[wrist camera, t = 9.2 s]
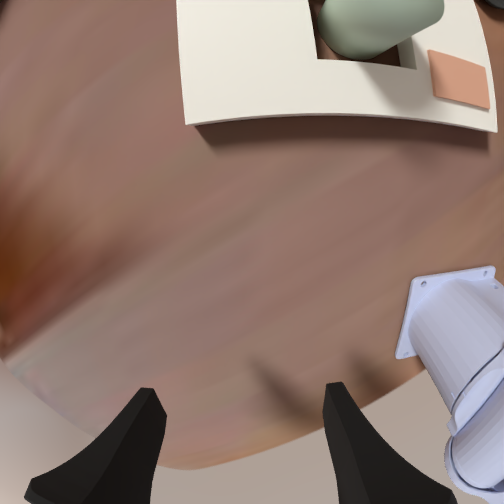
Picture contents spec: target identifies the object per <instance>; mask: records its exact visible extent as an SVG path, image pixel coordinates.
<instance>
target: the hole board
mask: <svg viewBox="0 0 504 504" xmlns="http://www.w3.org/2000/svg"><path fill="white" fill-rule="evenodd" d="M444 6H445V8H444V14H443V16H442V18H441V19H440V20H439V21H438V22H437V23H435V24H433V25H431V26H429V27H428V28H426V29H424V30H422V31H420V32H418V33H416V34H414V35H412V36H411V37H409V38H407V39H405V40H403V41H402V42H400V43H398V44H397V47H398V53H399V59H400V66H401V67H397V66H391V65H384V64H376V63H367V62H356V61H343V60H320V59H317V53H316V46H315V39H314V33H313V26H312V20H311V14H310V9H309V3H308V0H177V24H178V41H179V56H180V70H181V82H182V93H183V104H184V114H185V123H186V125H191V126H196V125H203V124H210V123H218V122H226V121H235V120H245V119H256V118H269V117H286V116H368V117H384V118H397V119H408V120H417V121H425V122H433V123H440V124H446V125H453V126H458V127H464V128H469V129H474V130H479V131H487V132H495V133H497V115H496V103H495V94H494V86H493V78H492V72H491V66H490V61H489V56H488V51H487V46H486V42H485V38H484V34H483V30H482V26H481V23H480V19H479V16H478V13H477V10H476V7H475V4H474V1H473V0H444Z"/></svg>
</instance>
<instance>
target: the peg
mask: <svg viewBox="0 0 504 504" xmlns="http://www.w3.org/2000/svg"><path fill="white" fill-rule="evenodd" d="M444 8H445V6H444V0H326V1H325V3H324V5H323V7H322V9H321V10H320V12H319V14H318V17H317V27H318V31H319V34H320V35H321V37H322V39H323V40H324V42H325V43H326V44H327V45H328V46H329V47H330V48H331V49H332V50H334V51H335V52H337V53H338V54H340V55H342V56H344V57H347V58H350V59H354V60H368V59H371V58H374V57H376V56H377V55H379V54H381V53H383V52H384V51H386V50H388V49H389V48H391V47H393V46H394V45H396V44H398V43H400V42H402V41H403V40H405V39H407V38H409V37H411V36H412V35H414V34H416V33H418V32H420V31H422V30H424V29H426V28H428V27H429V26H431V25H433V24H435V23H437V22H438V21H439V20H440V19H441V18H442V16H443V14H444Z"/></svg>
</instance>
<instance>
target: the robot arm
mask: <svg viewBox="0 0 504 504" xmlns="http://www.w3.org/2000/svg"><path fill="white" fill-rule="evenodd" d="M494 274H495V267H493V266H485V267H480V268H474V269H467V270H461V271H455V272H448V273H441V274H435V275H428V276H420V277H416V278H414V279H413V280H412V282H411V285H410V291H409V296H408V301H407V306H406V311H405V315H404V320H403V324H402V328H401V332H400V336H399V340H398V344H397V348H396V351H395V357H396V358H397V359H402V358H407V357H411V356H415V355H419V357H420V359H421V361H422V362H423V364H424V366H425V367H426V369H427V371H428V373H429V374H430V376H431V378H432V380H433V381H434V383H435V385H436V387H437V389H438V390H439V392H440V394H441V396H442V398H443V400H444V402H445V404H446V406H447V407H448V409H449V411H450V413H451V415H452V417H451V419H450V421H449V422H448V423H447V426H448V429H449V431H450V433H451V437H450V438H449V440H448V442H447V444H446V448H445V453H444V459H445V460H444V461H445V466H446V470H447V473H448V475H449V476H450V479H451V480H452V481H453V483H454V484H455V485H456V486H457V487H458V488H459V489H461V490H462V491H464V492H466V493H468V494H472V495H476V496H479V497H481V498H483V499H485V500H486V501H487V502H488V503H489V504H504V286H503V285H502V284H500V283H499V282H498V281H497V280H496V279H494ZM423 281H424V283H423V284H422V285H421V283H422V282H423ZM166 419H167V414H166V412H165V411H164V409H163V407H162V405H161V403H160V401H159V399H158V397H157V395H156V393H155V391H154V389H153V388H140V389H139V390H138V392H137V393H136V394H135V395H134V396H133V398H132V399H131V400H130V401H129V403H128V404H127V405H126V406H125V407H124V409H123V410H122V411H121V412H120V413H119V414H118V416H117V417H116V418H115V419H114V420H113V421H112V422H111V424H110V425H109V426H108V427H107V428H106V429H105V430H104V431H103V432H102V433H101V434H100V435H99V436H98V437H97V438H96V439H95V440H94V441H93V442H92V443H91V444H90V445H88V446H87V447H86V448H85V449H83V450H82V451H81V452H80V453H78V454H77V455H76V456H74V457H73V458H71V459H70V460H68V461H67V462H65V463H63V464H62V465H60V466H58V467H57V468H55V469H53V470H51V471H49V472H47V473H44V474H42V475H40V476H37V477H35V478H32V479H31V481H30V483H29V486H28V488H27V491H26V493H25V496H24V498H25V500H27V501H28V502H30V503H31V504H150V496H151V488H152V480H153V476H154V471H155V468H156V464H157V460H158V457H159V453H160V450H161V446H162V442H163V438H164V434H165V427H166ZM323 419H324V427H325V434H326V438H327V441H328V446H329V450H330V454H331V458H332V462H333V466H334V470H335V474H336V480H337V487H338V496H339V504H458V503H457V500H456V498H455V496H454V494H453V492H452V490H451V489H449V488H447V487H445V486H443V485H441V484H440V483H437V482H436V481H434V480H433V479H431V478H429V477H428V476H426V475H425V474H423V473H422V472H420V471H419V470H418V469H416V468H415V467H414V466H413V465H411V464H410V463H408V462H407V461H406V460H405V459H404V458H403V457H401V456H400V455H399V454H398V453H397V452H396V451H395V450H394V449H393V448H392V447H391V446H389V444H388V443H387V442H386V441H385V440H384V439H383V438H382V437H381V436H380V435H379V433H378V432H377V431H376V430H375V429H374V428H373V426H372V425H371V424H370V423H369V421H368V420H367V419H366V418H365V416H364V415H363V413H362V412H361V411H360V409H359V408H358V406H357V405H356V403H355V402H354V400H353V399H352V397H351V396H350V394H349V392H348V391H347V389H346V387H345V385H344V384H343V383H342V382H336V383H329V384H326V391H325V399H324V405H323Z"/></svg>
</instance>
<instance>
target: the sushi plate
mask: <svg viewBox="0 0 504 504" xmlns="http://www.w3.org/2000/svg"><path fill="white" fill-rule="evenodd" d="M485 1H486V2H487V3H488V4H489V5H491V6H493V7H495V8H498V9H504V0H485Z"/></svg>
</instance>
